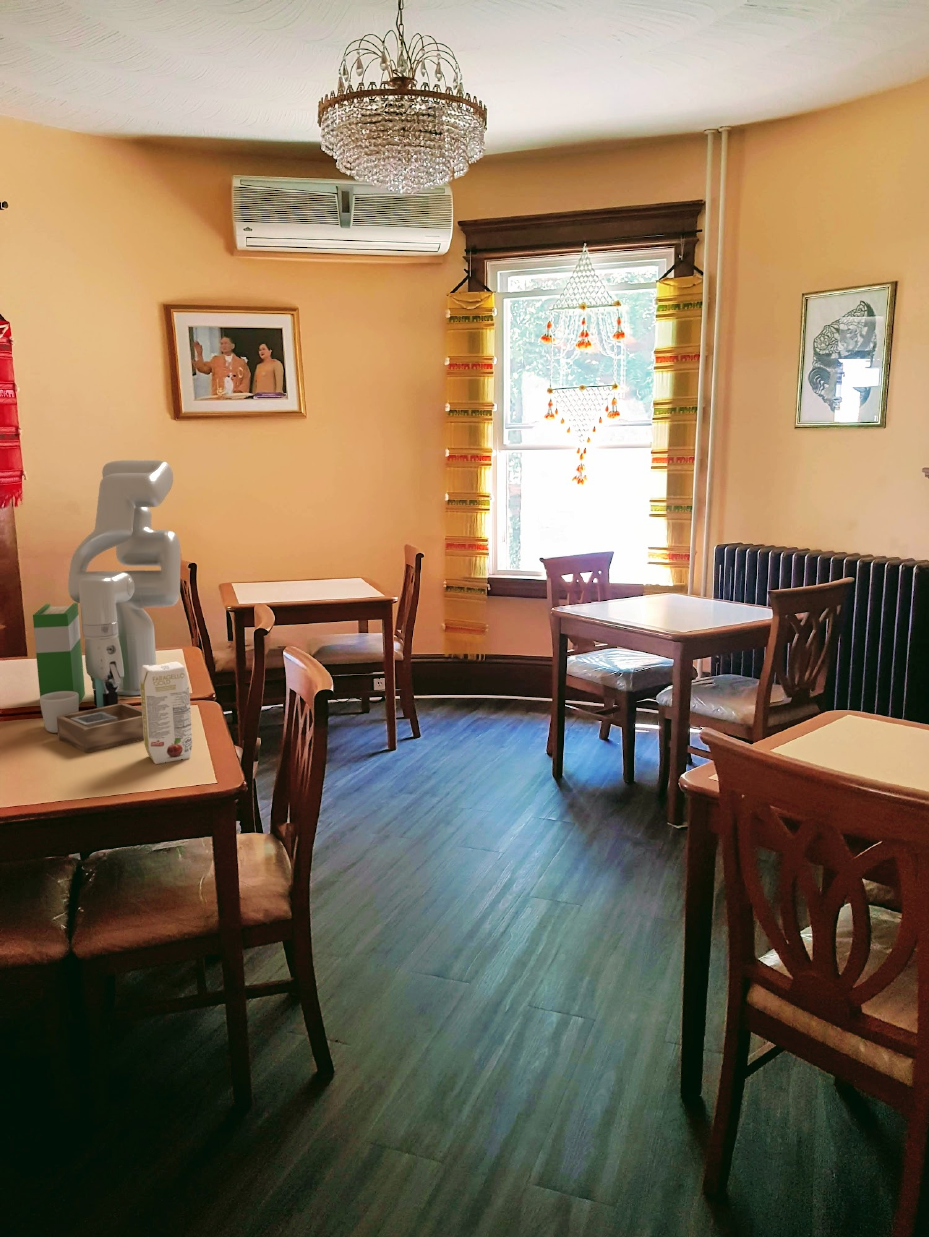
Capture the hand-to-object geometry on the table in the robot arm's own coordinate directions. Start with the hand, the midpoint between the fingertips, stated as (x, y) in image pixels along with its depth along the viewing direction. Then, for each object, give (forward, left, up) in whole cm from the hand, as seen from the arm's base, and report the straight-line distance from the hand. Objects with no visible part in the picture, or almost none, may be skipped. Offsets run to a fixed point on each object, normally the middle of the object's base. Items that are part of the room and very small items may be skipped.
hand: (106, 706), depth 202 cm
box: (+7, +14, -3) cm, 16 cm away
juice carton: (+4, +36, -3) cm, 37 cm away
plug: (0, 0, -3) cm, 3 cm away
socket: (+9, +14, -3) cm, 17 cm away
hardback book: (+1, -21, -3) cm, 21 cm away
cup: (+11, 0, -3) cm, 11 cm away
